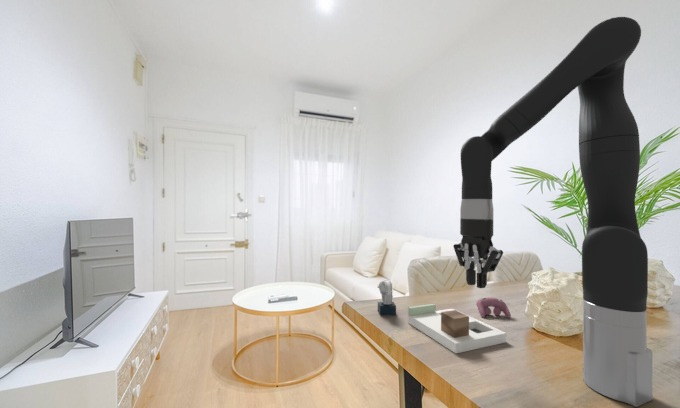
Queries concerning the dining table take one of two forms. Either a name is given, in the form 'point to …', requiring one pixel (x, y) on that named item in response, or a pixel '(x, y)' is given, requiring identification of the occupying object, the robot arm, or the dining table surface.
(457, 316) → the walnut block
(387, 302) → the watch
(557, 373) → the dining table surface
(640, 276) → the robot arm
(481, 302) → the video game controller
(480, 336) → the board
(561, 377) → the dining table surface
